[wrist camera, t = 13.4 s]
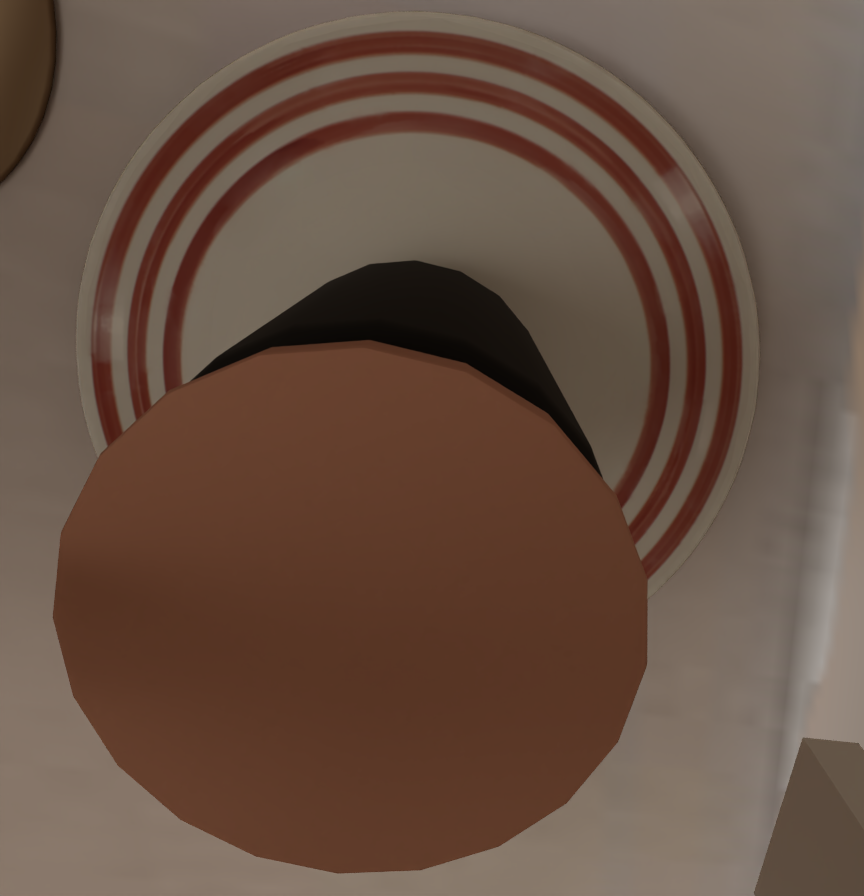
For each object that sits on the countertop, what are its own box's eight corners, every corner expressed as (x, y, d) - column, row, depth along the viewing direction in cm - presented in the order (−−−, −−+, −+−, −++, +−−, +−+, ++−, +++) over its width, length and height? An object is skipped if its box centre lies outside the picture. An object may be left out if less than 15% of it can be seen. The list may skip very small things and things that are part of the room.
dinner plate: (240, 706, 40) (221, 750, 36) (-8, 159, 32) (-59, 156, 28) (781, 567, 36) (812, 602, 33) (656, -78, 28) (681, -112, 25)
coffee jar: (316, 541, 33) (166, 916, 16) (239, 294, 30) (-53, 427, 13) (565, 489, 32) (693, 829, 15) (512, 226, 29) (597, 271, 12)
